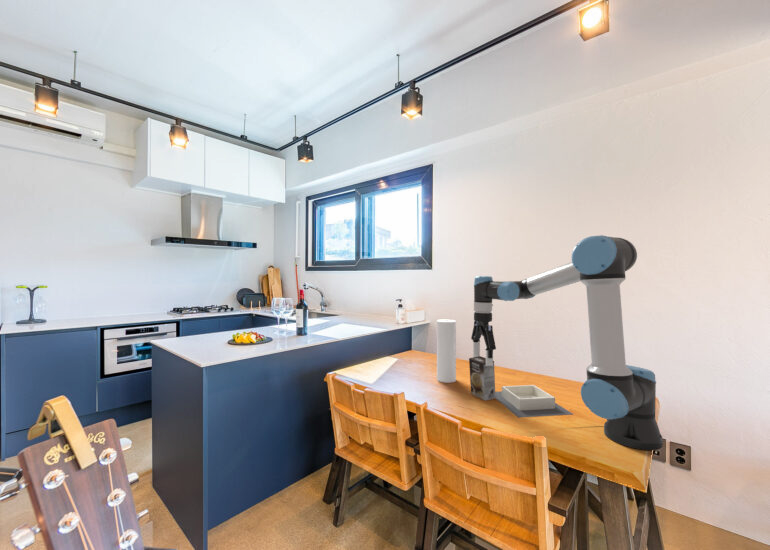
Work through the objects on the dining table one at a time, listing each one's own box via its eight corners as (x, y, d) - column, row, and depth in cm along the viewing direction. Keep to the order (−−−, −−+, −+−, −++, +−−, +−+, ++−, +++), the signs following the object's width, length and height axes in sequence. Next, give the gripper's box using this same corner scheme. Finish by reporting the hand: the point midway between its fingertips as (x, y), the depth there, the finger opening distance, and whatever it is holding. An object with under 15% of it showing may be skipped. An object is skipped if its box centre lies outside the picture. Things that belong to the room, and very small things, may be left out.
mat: (573, 415, 123) (573, 414, 123) (518, 418, 121) (518, 417, 121) (534, 390, 149) (534, 389, 149) (488, 392, 147) (488, 391, 147)
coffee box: (470, 394, 145) (468, 358, 145) (481, 391, 148) (479, 355, 147) (484, 401, 137) (482, 363, 136) (496, 398, 140) (494, 360, 139)
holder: (555, 408, 129) (555, 397, 129) (519, 410, 127) (519, 399, 127) (534, 394, 143) (534, 384, 143) (501, 396, 141) (501, 386, 141)
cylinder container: (454, 376, 169) (454, 318, 169) (456, 382, 160) (456, 321, 160) (436, 376, 170) (436, 318, 170) (437, 382, 161) (437, 321, 161)
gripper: (505, 315, 130) (504, 369, 130) (479, 308, 155) (479, 353, 155) (486, 316, 129) (486, 370, 130) (464, 308, 154) (464, 353, 154)
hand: (482, 361), depth 142 cm, fingers open, 13 cm apart
